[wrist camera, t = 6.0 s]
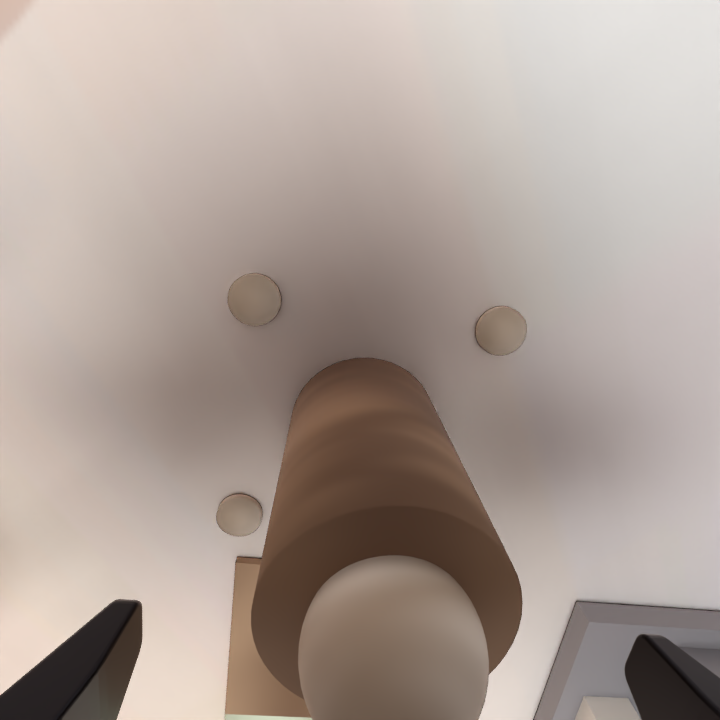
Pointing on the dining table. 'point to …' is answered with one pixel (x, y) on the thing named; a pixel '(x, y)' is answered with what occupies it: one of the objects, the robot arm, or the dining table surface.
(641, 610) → the console
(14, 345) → the dining table surface
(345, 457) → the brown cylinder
